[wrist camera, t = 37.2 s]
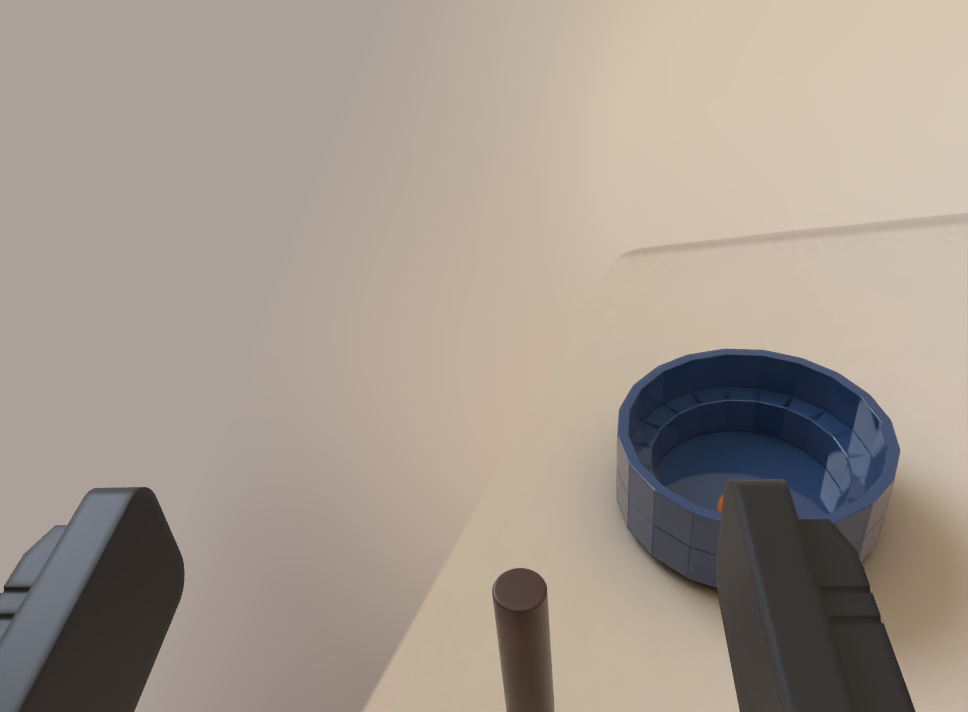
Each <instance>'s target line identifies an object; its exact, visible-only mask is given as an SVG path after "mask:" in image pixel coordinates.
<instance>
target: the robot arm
mask: <svg viewBox="0 0 968 712" xmlns="http://www.w3.org/2000/svg"><path fill="white" fill-rule="evenodd" d="M716 578H717V590H718V598H719V604H720V609H721V614H722V619H723V625H724V630H725V635H726V641H727V646H728V651H729V657H730V662H731V667H732V672H733V678H734V683H735V688H736V694H737V699H738V704H739V709H740V712H915V709H914V706H913V703H912V701H911V698H910V695H909V692H908V690H907V687H906V684H905V681H904V679H903V676H902V673H901V670H900V668H899V665H898V662H897V659H896V657H895V654H894V651H893V648H892V646H891V643H890V640H889V637H888V635H887V632H886V629H885V626H884V624H883V623H881V619H880V616H881V615H880V613H879V610H878V607H877V604H876V602H875V599H874V596H873V593H870V585H869V582H868V580H867V577H866V574H865V571H864V569H863V566H862V563H861V560H860V558H859V555H858V552H857V550H856V549H855V548H854V546H853V545H852V544H851V543H850V542H849V541H848V540H847V539H846V538H845V536H844V535H843V534H842V533H841V532H840V531H839V530H838V529H837V528H836V526H835V525H834V524H833V523H832V522H831V521H830V520H829V519H798V516H797V513H796V510H795V506H794V503H793V500H792V497H791V493H790V490H789V487H788V485H787V483H786V482H785V480H783V479H771V480H727V481H726V483H725V486H724V493H723V502H722V511H721V519H720V528H719V536H718V545H717V554H716ZM183 586H184V563H183V558H182V555H181V553H180V551H179V549H178V546H177V544H176V542H175V539H174V537H173V535H172V532H171V530H170V528H169V525H168V523H167V521H166V518H165V516H164V514H163V512H162V509H161V507H160V505H159V503H158V500H157V498H156V496H155V494H154V493H153V491H152V490H151V489H149V488H146V487H134V488H133V487H130V488H94V489H92V490H91V491H89V492H88V493H87V494H86V495H85V497H84V498H83V500H82V502H81V503H80V505H79V506H78V508H77V510H76V512H75V513H74V515H73V517H72V518H71V520H70V522H69V523H68V525H61V526H60V525H57V526H54V527H53V528H52V529H51V530H50V531H49V532H48V533H47V534H46V535H44V536H43V537H42V538H41V539H40V540H39V541H38V542H37V543H36V544H35V545H33V546H32V547H31V548H30V549H29V550H28V551H27V552H26V553H25V554H24V555H23V556H22V558H21V560H20V561H19V563H18V564H17V566H16V568H15V569H14V571H13V573H12V574H11V576H10V577H9V579H8V581H7V582H6V584H5V585H4V592H3V593H0V712H134V711H135V708H136V706H137V703H138V701H139V698H140V696H141V694H142V691H143V689H144V687H145V684H146V682H147V679H148V677H149V674H150V672H151V670H152V667H153V665H154V662H155V660H156V657H157V655H158V653H159V650H160V648H161V645H162V643H163V640H164V638H165V635H166V633H167V631H168V628H169V626H170V624H171V621H172V619H173V616H174V614H175V612H176V609H177V607H178V604H179V602H180V599H181V595H182V592H183Z"/></svg>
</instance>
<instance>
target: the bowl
mask: <svg viewBox="0 0 968 712" xmlns="http://www.w3.org/2000/svg"><path fill="white" fill-rule="evenodd" d="M899 455H900V447H899V444H898V441H897V438H896V435H895V431H894V428H893V425H892V422H891V420H890V418H889V417H888V416H887V415H886V413H885V412H884V411H883V410H882V409H881V407H880V406H879V405H878V404H877V403H876V401H875V400H874V399H873V398H872V396H871V395H869V394H868V393H867V392H866V391H864V390H863V389H861V388H860V387H858V386H857V385H855V384H854V383H853V382H851V381H850V380H848V379H847V378H845V377H844V376H842V375H841V374H839V373H837V372H835V371H833V370H830V369H828V368H825V367H823V366H820V365H818V364H816V363H813V362H811V361H808V360H806V359H802V358H799V357H795V356H790V355H785V354H780V353H776V352H771V351H766V350H764V351H763V350H750V349H720V350H713V351H707V352H701V353H695V354H689V355H685V356H683V357H680V358H678V359H675V360H673V361H670V362H668V363H665V364H662V365H660V366H657V367H656V368H655V369H654V370H652V371H651V372H650V373H648V374H647V375H646V376H645V377H643V378H642V379H641V380H639V381H638V382H637V383H636V384H634V386H632V388H631V390H630V392H629V393H628V395H627V397H626V398H625V400H624V402H623V404H622V405H621V407H620V409H619V417H618V433H617V502H618V504H619V507H620V509H621V512H622V515H623V517H624V520H625V523H626V525H627V528H628V529H629V530H630V532H631V533H632V534H633V535H634V536H635V537H636V538H637V540H638V541H639V542H640V543H641V544H642V545H643V546H644V548H645V549H646V550H647V551H648V552H649V553H650V554H651V555H652V556H653V557H655V558H656V559H658V560H659V561H661V562H662V563H664V564H666V565H667V566H669V567H670V568H672V569H673V570H675V571H677V572H678V573H680V574H681V575H683V576H684V577H686V578H688V579H690V580H693V581H696V582H699V583H702V584H705V585H709V586H712V587H715V588H717V578H716V554H717V545H718V536H719V528H720V519H721V512H718V511H717V505H718V502H719V500H720V498H721V497H722V495H723V493H724V486H725V483H726V481H727V480H771V479H783V480H785V482H786V483H787V485H788V487H789V490H790V493H791V497H792V500H793V503H794V506H795V510H796V513H797V516H798V519H829V520H830V521H831V522H832V523H833V524H834V525H835V526H836V528H837V529H838V530H839V531H840V532H841V533H842V534H843V535H844V536H845V538H846V539H847V540H848V541H849V542H850V543H851V544H852V545H853V546H854V548H855V549H856V550H857V552H858V555H859V558H860V560H861V563H862V562H863V561H864V560H865V558H866V557H867V556H868V555H869V553H870V552H871V551H872V550H873V549H874V547H875V546H876V544H877V541H878V537H879V534H880V530H881V526H882V523H883V519H884V515H885V511H886V508H887V505H888V501H889V497H890V494H891V490H892V487H893V483H894V479H895V475H896V470H897V465H898V460H899Z"/></svg>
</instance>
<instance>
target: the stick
mask: <svg viewBox="0 0 968 712" xmlns="http://www.w3.org/2000/svg"><path fill="white" fill-rule="evenodd" d="M492 594H493V603H494V611H495V619H496V627H497V636H498V644H499V652H500V660H501V669H502V677H503V685H504V694H505V702H506V710H507V712H555V710H554V694H553V678H552V661H551V645H550V629H549V613H548V597H547V586H546V583H545V581H544V580H543V578H542V577H541V576H540V575H539V574H538V573H536V572H534V571H532V570H530V569H525V568H516V569H511V570H509V571H506V572H504V573H503V574H501V575H500V576H499V577H498V578H497V580H496V581H495V583H494V585H493V590H492Z"/></svg>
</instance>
